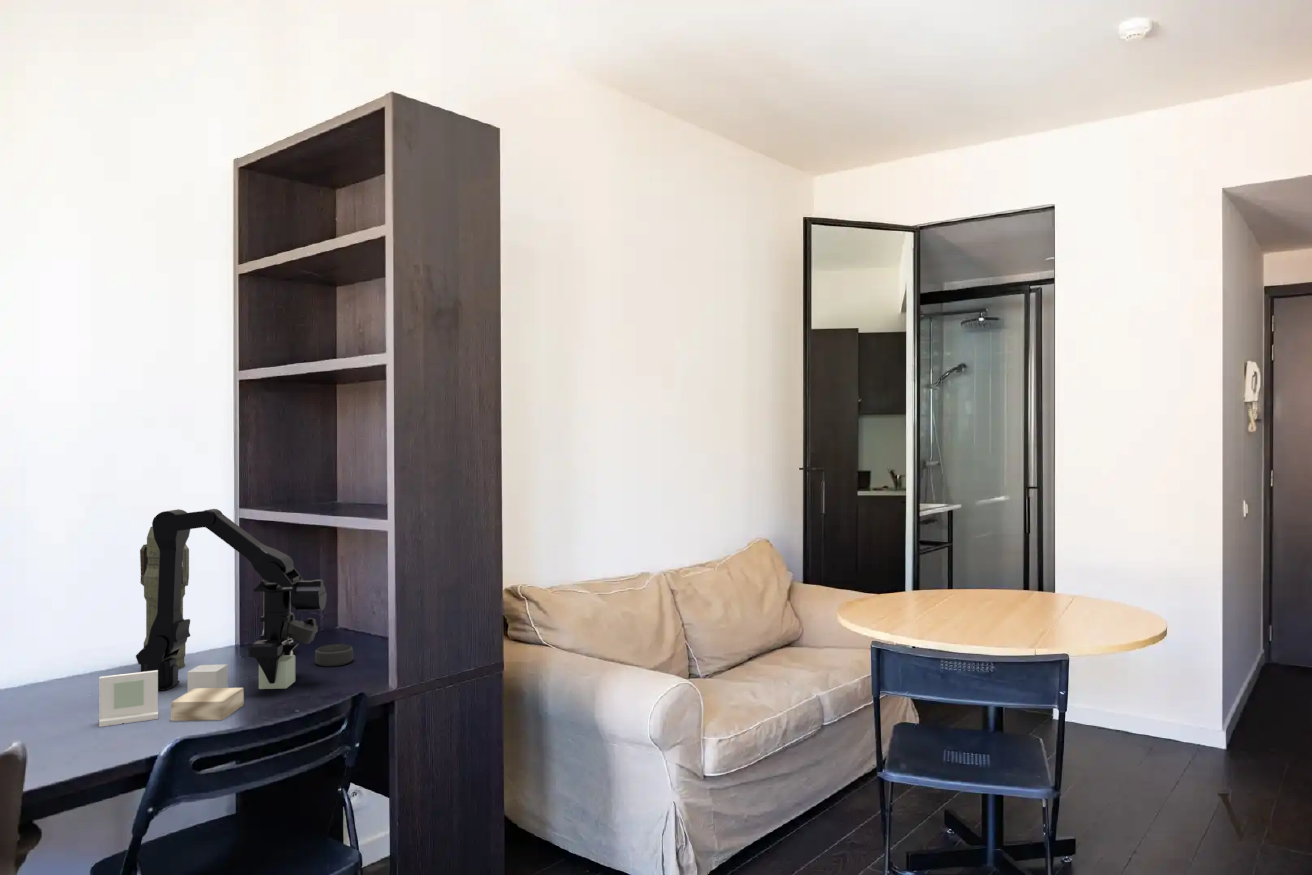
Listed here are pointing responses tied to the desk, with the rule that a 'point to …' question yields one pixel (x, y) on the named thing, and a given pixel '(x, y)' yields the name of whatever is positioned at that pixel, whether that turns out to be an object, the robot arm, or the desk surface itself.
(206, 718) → the birch block
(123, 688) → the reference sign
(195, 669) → the grey cube
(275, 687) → the sage cube
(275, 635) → the robot arm
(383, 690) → the desk surface
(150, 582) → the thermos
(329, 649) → the smart speaker
